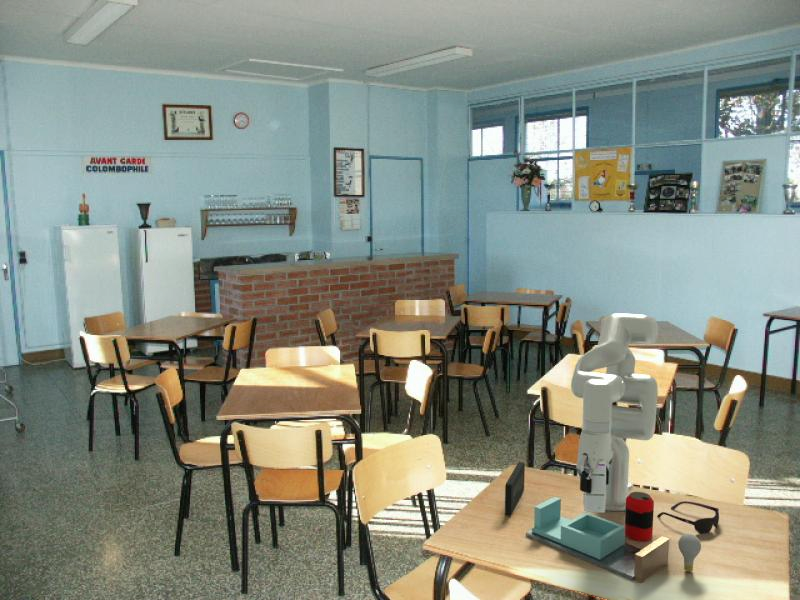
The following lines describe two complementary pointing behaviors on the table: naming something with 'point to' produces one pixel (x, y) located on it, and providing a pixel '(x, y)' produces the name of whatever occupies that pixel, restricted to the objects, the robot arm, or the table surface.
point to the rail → (622, 557)
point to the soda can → (639, 516)
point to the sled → (578, 530)
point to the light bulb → (689, 550)
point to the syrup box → (596, 489)
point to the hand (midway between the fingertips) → (594, 487)
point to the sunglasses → (701, 524)
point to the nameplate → (514, 488)
